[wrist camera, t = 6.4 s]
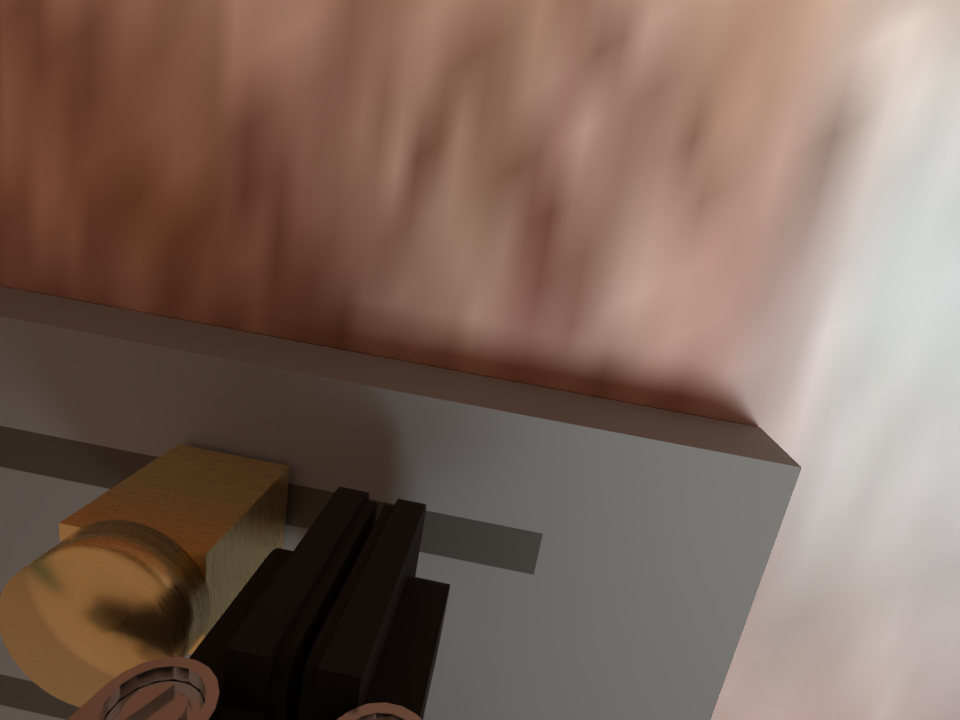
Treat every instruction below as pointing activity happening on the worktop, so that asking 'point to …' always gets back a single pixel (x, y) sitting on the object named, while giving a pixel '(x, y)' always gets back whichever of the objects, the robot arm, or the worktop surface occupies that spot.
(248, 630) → the robot arm
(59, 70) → the worktop surface
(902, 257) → the worktop surface
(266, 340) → the panel
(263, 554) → the brass slider
